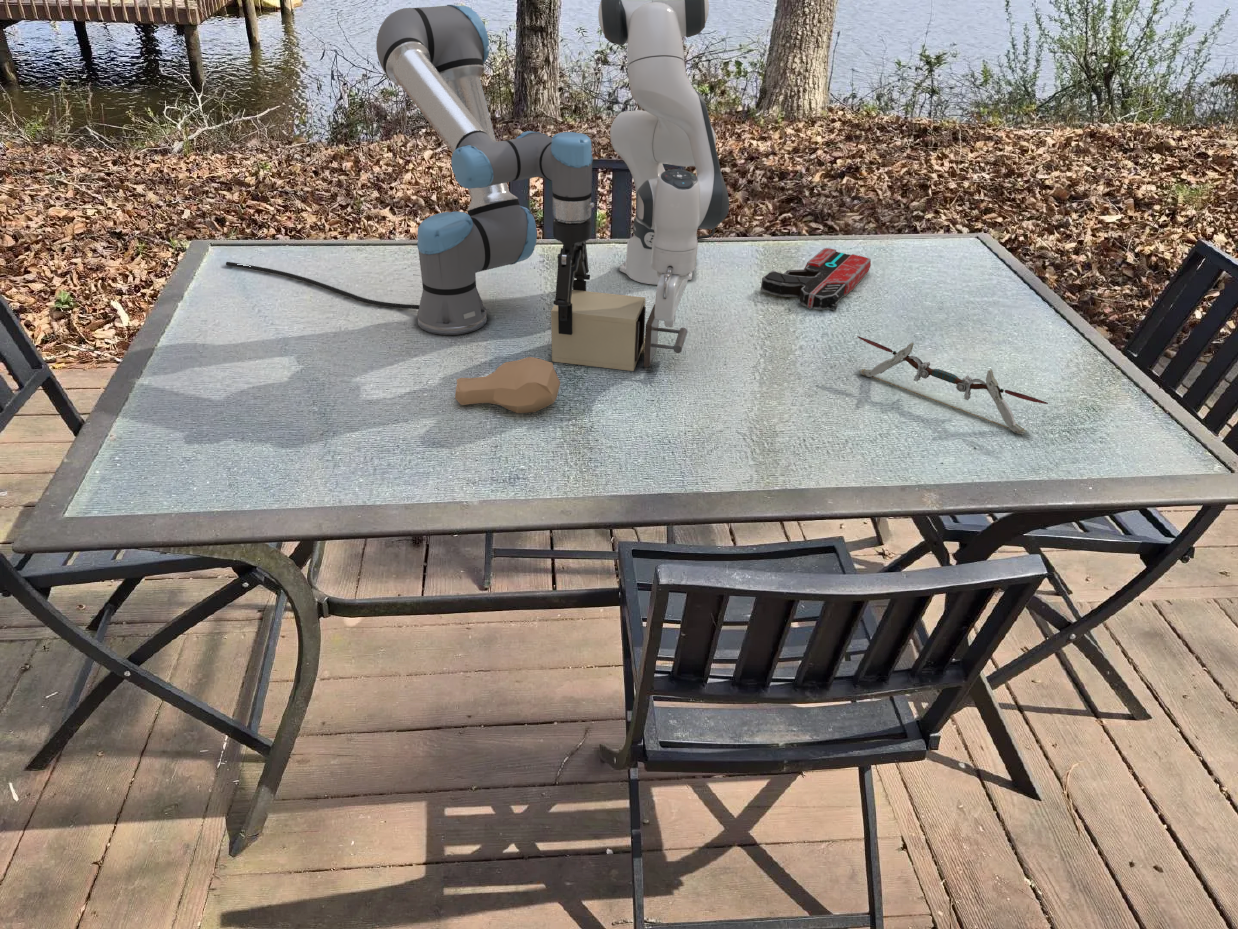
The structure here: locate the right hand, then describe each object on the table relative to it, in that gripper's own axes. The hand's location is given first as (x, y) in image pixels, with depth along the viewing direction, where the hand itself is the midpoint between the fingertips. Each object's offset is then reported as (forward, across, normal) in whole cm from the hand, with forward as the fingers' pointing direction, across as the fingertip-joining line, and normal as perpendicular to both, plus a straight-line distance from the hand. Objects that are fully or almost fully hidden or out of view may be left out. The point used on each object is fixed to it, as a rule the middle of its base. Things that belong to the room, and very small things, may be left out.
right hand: (669, 324), depth 178 cm
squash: (+9, -25, +27) cm, 37 cm away
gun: (+8, +52, -30) cm, 60 cm away
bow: (+9, -3, -54) cm, 55 cm away
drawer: (+8, +1, +8) cm, 11 cm away
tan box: (+9, 0, +15) cm, 17 cm away
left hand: (+2, 0, +20) cm, 20 cm away
